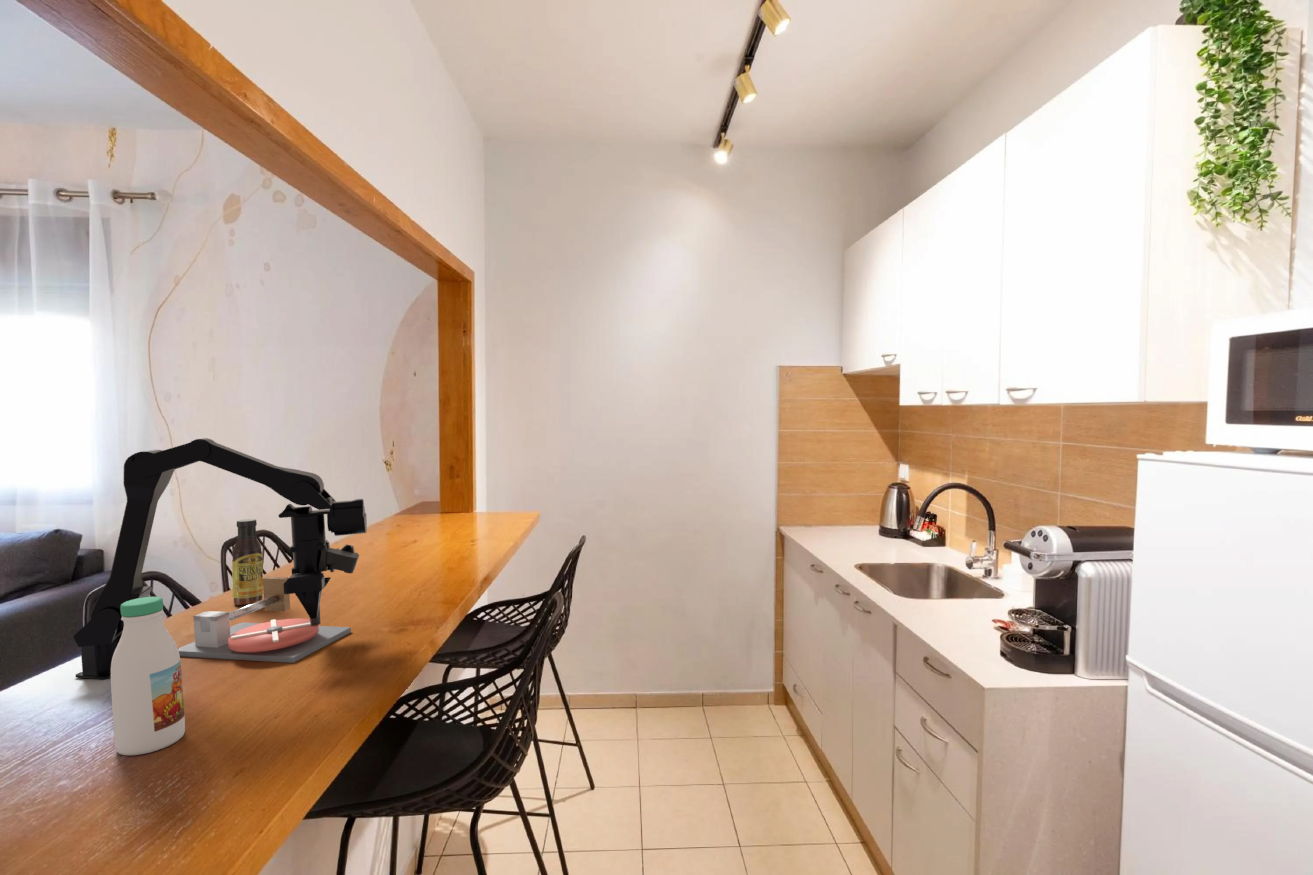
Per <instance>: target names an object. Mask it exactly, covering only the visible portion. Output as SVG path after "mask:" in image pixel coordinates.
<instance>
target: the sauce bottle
mask: <svg viewBox="0 0 1313 875" xmlns="http://www.w3.org/2000/svg"><path fill="white" fill-rule="evenodd" d="M236 528H237V541H236V543H235V544H234V547H233V549H232V561H231V566H232V567H231V570H232V571H231V572H232V573H231V574H232V579H231V580H232V598H233V605H236V606H248V605H251V604H253V603H256V602H258V601H261V600H263V599H264V596H263V595H264V591H263V578H264V571H263V570H264V569H263V568H264V567H263V565H264V564H263V562H264V561H263V550H262V545H261V543H260V541H259V540H258V538H257V519H255V518H246V519H244V518H243V519H238V520H236Z"/></svg>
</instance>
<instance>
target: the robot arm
mask: <svg viewBox="0 0 1313 875" xmlns="http://www.w3.org/2000/svg"><path fill="white" fill-rule="evenodd" d="M198 462H202V463H205V464H208V465H211V466H213V467H216V468H218V469H221V470H224V471H227V472H228V473H229V472H230V473H232V474H235V475H237V476H239V477H242V478H245V479H248V480H250V481H253V482H256V483H259V484H261V485H264V486H265V487H267V488H269V489H271V490H272V491H274V492H275V493H277V494H278V495H279V496H281V497H283V498H284V499H286V500H288V501H290V503H288V504H286V506H285V508H284V509H283V510H282V512H280V513H279V514H278V517H279V518H281V519H282V518H283V519H285V518H286V519H287V518H290V525H291V528H290V529H291V542H292V545H291V546H290V549H289V551H290V553H292V556H293V557H292V558H293V559H292V562H293V567H292V568H291V575H290V576H288V579H287V580H286V582H285V583H284V584H283V585H284V594H289V595H291V594H295V596H296V597H297V599H298V600H299V602H300V604H301V605H302V606H303V609H304V610H305V612H306V614H307V615H308V618H309V619H310V618H311V619H315V618H317V615H318V609H319V605H320V603H321V597H322V593H323V589H324V588H325V587H327V585H328V584H329V582H330V580H331V578H332V577H330V576H329V577H325V573H323V572H327V571H329V572H330V573H334V572H335V571H336V570H338V571H341V572H344V573H345V574H354V571H355V569H356V566H357V564H358V560H359V558H360V554H359V553H358V552H355V548H354V545H351V544H344V546H343V547H342V548H341V549H340V548H333V547H330V541H328V539H326V538H327V536H326V526H325V524H327V531H328V532H330V533H333V534H334V536H335V537H337V536H338V537H339V536H347V535H348V536H349V535H359V534H367V529H368V526H367V524H368V523H367V522H368V521H367V519H368V518H367V512H366V509H365V502H364V501H365V500H364V499H363V498H357V499H353V500H343V501H342V500H341V501H336V499H335V498H334V497H333V496H332V495H330V493H329V492H328V491H327V490H326V489H325V484H324V481H323V479H322V478H321V477H320V475H318V474H317V473H314V472H309V471H305V470H300V469H294V468H289V467H283V466H279V465H278V466H277V465H274V464H273V463H269V462H266V461H264V460H262V459H260V458H256V457H255V456H252V455H249V454H246V453H244V452H241V451H238V450H235V449H233V448H231V447H228V446H226V445H222V444H221V443H217V442H216V441H214V440H213V439H211V438H208V437H204V438H196V439H194V440H191V441H190V442H188V443H183V444H180V445H178V446H174V447H170V448H167V449H164V450H162V449H150V450H144V451H143V450H142V451H139V452H135V453H133V454H131V455H130V456H128V457H127V458H126V459H125V462H124V463H123V487H124V492H125V495H126V496H125V497H126V504H125V509H124V513H123V517H122V521H121V525H120V526H121V527H120V530H119V536H118V540H117V543H116V548H115V552H114V558H113V562H112V566H111V571H110V575H109V578H108V580H107V582H106V583H105V585H104V587H103V588H102V590H101V591H100V593H99V595H97V598H96V601H94V602H95V603H94V605H93V607H92V610H91V611H90V613H89V614H90V615H89V620H88V621H87V623H86V624H85V625H83V626H82V628H80V629H79V630H78V631H77V632H76V633H75V634H74V635H73V636H72V637H73V639H74V642H75V643H76V645H77V647H78V648H80V654H81V655H80V658H81V667H82V668H81V670H82V671H81V672H80V671H79V673H75V678H80V679H83V678H84V679H95V680H96V679H97V680H105V679H109V678H111V662H112V657H113V654H114V652H115V649H116V647H117V645H118V643H119V641H120V638H121V635H122V632H123V628H124V621H122V620H121V618H122V615H121V609H120V607H121V604H123V603H124V602H127V601H129V600H133V599H138V598H143V597H150V593H151V591H152V590H153V586H151V585H150V586H149V585H148V586H147V585H146V586H145V585H144V584H143V579H142V574H143V568H144V564H145V560H146V556H147V551H148V546H149V542H150V537H151V533H152V529H153V524H154V518H155V515H156V510H157V507H158V503H159V500H160V499H161V497H162V495H163V494H164V492H165V490H166V489H167V487H168V485H169V483H170V481H171V479H172V477H173V474H174V473H175V470H177V469H181V468H183V467H187V466H189V465H192V464H195V463H198ZM291 503H293V504H295V505H298V506H294V505H293V504H291ZM312 507H313V508H314V509H315V510H313V508H312ZM325 515H326V518H327V519H326V522H327V523H325Z"/></svg>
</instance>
